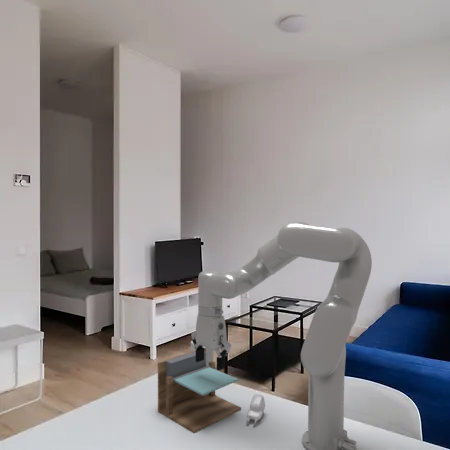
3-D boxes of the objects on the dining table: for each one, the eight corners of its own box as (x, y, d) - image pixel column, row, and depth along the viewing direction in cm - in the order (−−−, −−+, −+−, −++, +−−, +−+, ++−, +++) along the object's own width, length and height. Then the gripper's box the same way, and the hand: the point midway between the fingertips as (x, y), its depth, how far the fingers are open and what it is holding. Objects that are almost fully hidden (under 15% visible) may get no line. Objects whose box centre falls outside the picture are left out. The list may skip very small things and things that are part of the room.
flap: (239, 382, 128) (239, 363, 128) (201, 398, 117) (201, 378, 117) (201, 366, 141) (201, 349, 141) (163, 379, 130) (163, 361, 130)
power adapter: (258, 433, 120) (256, 421, 118) (245, 430, 122) (242, 418, 120) (267, 406, 128) (265, 394, 126) (254, 403, 130) (252, 392, 128)
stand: (240, 409, 131) (241, 361, 130) (194, 433, 117) (194, 378, 116) (204, 392, 143) (204, 348, 143) (157, 411, 129) (157, 362, 129)
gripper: (238, 313, 122) (238, 369, 123) (201, 304, 134) (200, 355, 135) (220, 318, 117) (220, 376, 117) (183, 308, 129) (183, 360, 130)
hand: (210, 365), depth 126 cm, fingers open, 9 cm apart
